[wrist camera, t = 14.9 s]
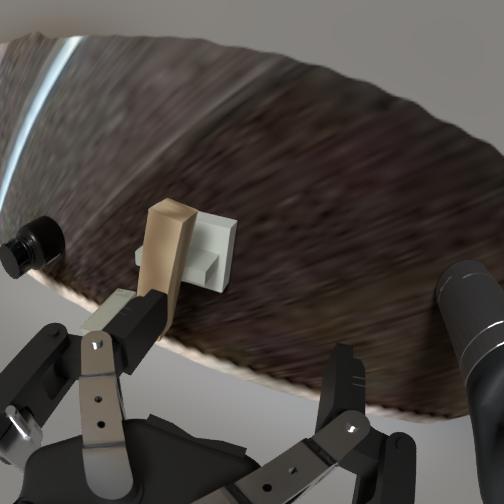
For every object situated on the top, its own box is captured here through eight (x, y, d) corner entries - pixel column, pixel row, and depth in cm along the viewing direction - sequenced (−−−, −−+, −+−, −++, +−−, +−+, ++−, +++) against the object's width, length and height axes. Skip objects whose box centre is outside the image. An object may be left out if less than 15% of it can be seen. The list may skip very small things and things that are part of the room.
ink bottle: (37, 244, 57) (-2, 269, 46) (36, 208, 53) (-8, 231, 42) (67, 263, 56) (26, 293, 46) (67, 225, 52) (22, 253, 42)
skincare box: (118, 287, 55) (78, 325, 44) (137, 291, 54) (98, 332, 43) (124, 314, 57) (89, 354, 47) (143, 319, 56) (108, 361, 46)
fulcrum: (237, 220, 43) (216, 244, 36) (228, 282, 48) (209, 313, 41) (159, 202, 45) (128, 221, 38) (157, 261, 50) (131, 286, 43)
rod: (198, 210, 35) (182, 222, 31) (171, 324, 44) (159, 341, 40) (167, 198, 35) (149, 209, 32) (147, 312, 44) (133, 328, 40)
